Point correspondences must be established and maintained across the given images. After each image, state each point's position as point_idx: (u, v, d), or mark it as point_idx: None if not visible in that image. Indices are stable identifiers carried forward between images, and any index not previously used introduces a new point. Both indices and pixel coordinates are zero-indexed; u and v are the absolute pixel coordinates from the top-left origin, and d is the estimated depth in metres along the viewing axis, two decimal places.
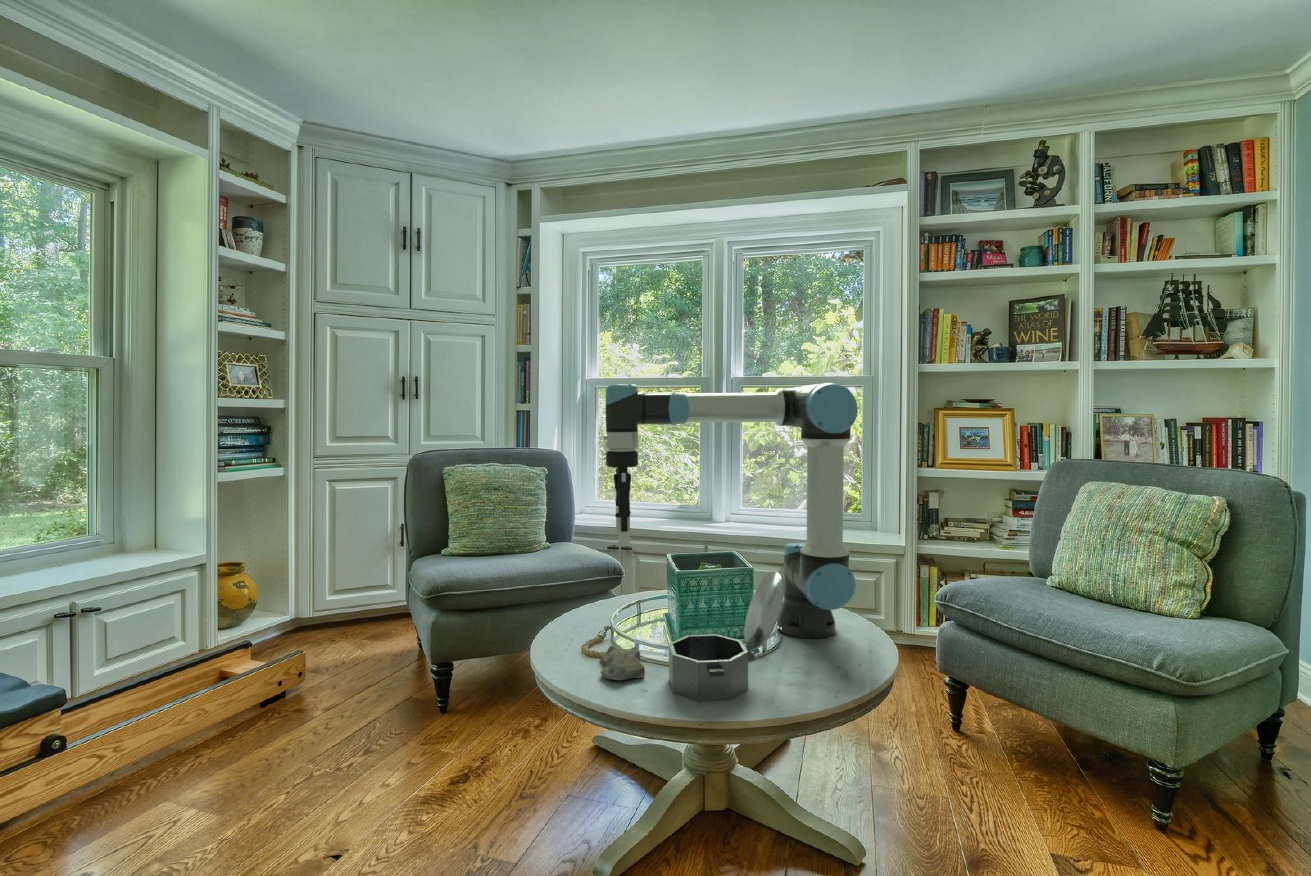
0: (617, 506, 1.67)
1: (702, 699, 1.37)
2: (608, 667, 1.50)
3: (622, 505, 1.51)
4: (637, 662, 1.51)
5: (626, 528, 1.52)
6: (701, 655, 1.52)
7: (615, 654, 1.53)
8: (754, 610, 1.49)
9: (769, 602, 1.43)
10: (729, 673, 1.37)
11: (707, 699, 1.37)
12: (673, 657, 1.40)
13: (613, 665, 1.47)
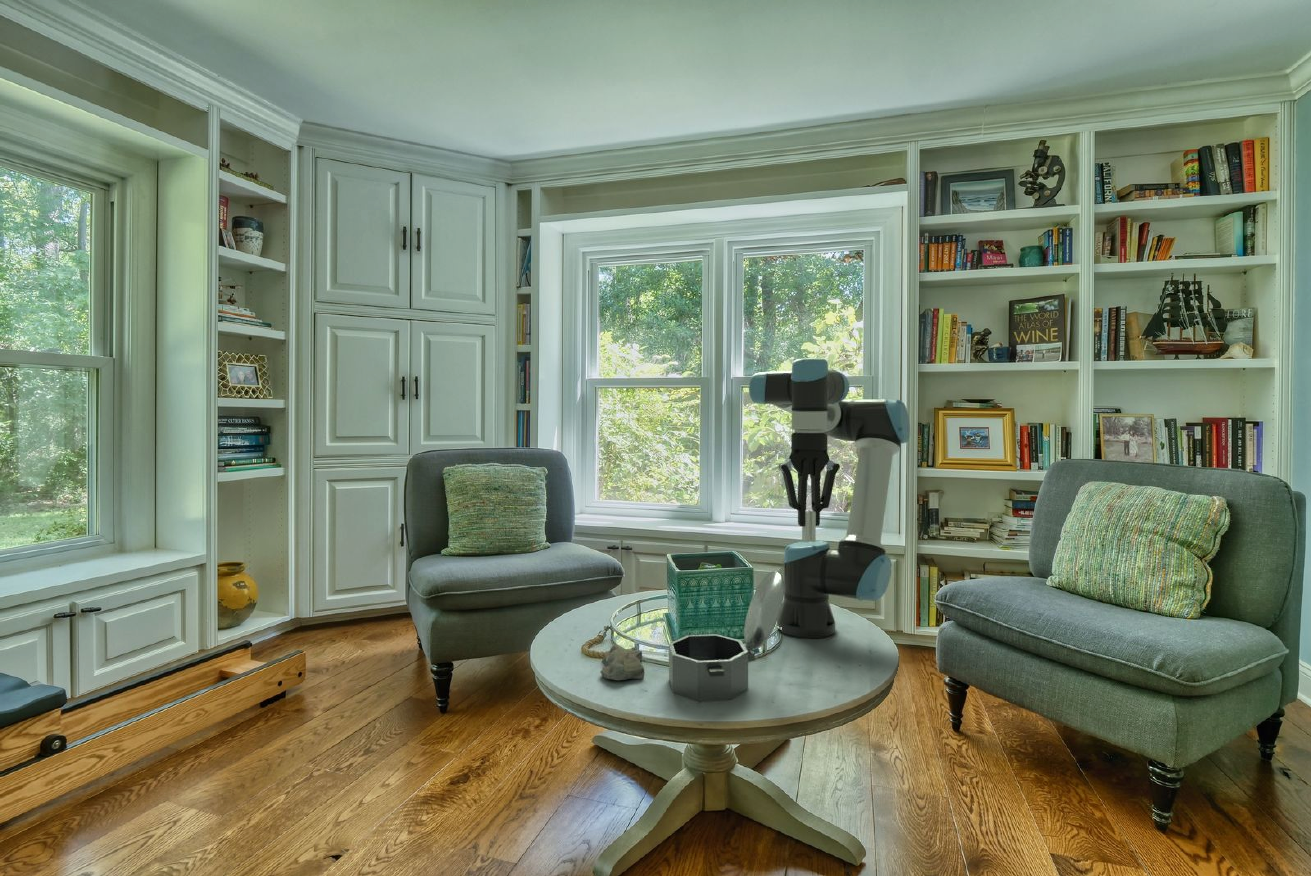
0: (812, 507, 1.46)
1: (702, 699, 1.37)
2: (608, 667, 1.50)
3: (788, 498, 1.45)
4: (637, 663, 1.51)
5: (799, 522, 1.45)
6: (701, 655, 1.52)
7: (616, 654, 1.53)
8: (754, 610, 1.49)
9: (769, 602, 1.43)
10: (729, 673, 1.37)
11: (707, 699, 1.37)
12: (673, 657, 1.40)
13: (612, 665, 1.47)
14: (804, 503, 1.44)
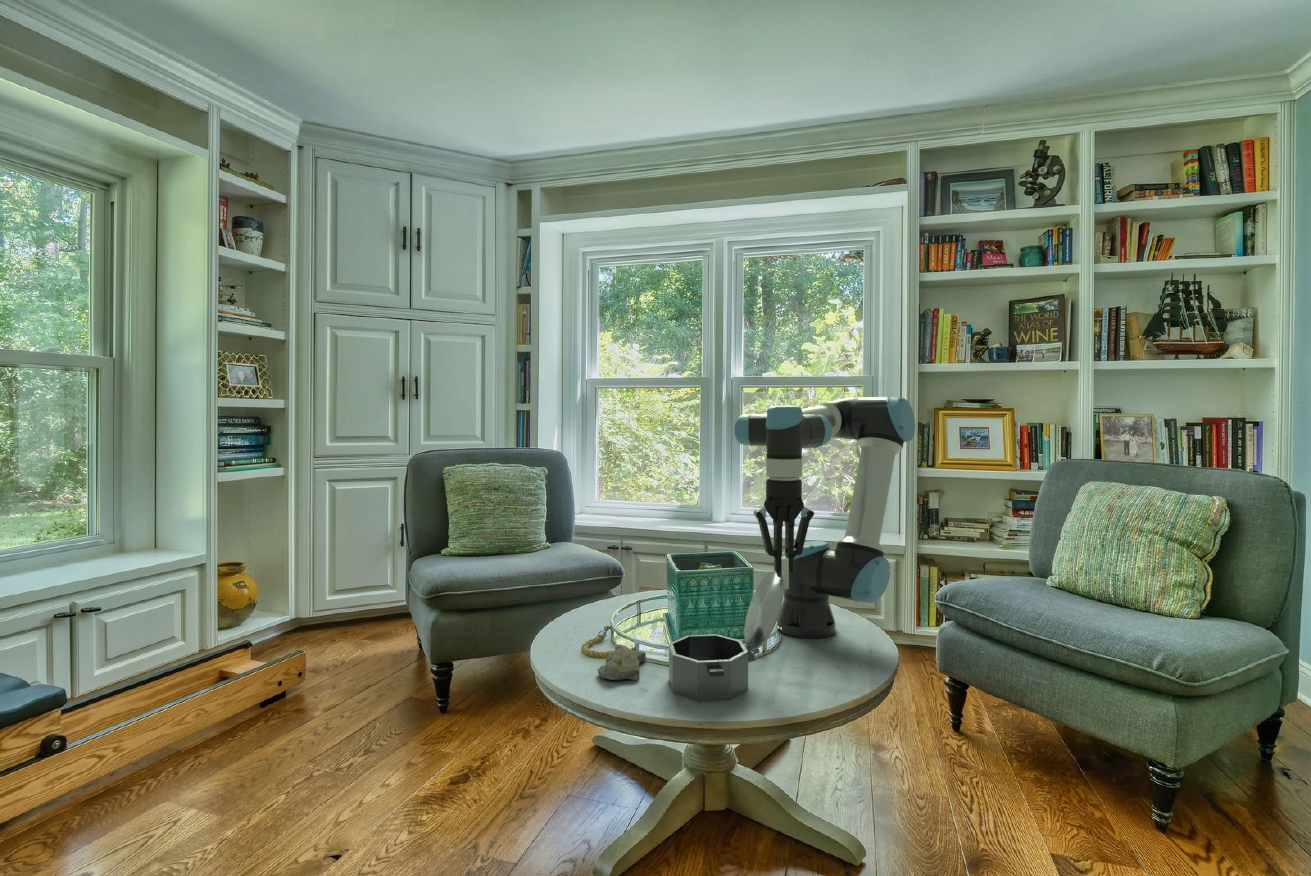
0: (785, 553, 1.46)
1: (702, 699, 1.37)
2: None
3: (764, 545, 1.45)
4: (635, 664, 1.51)
5: (775, 569, 1.45)
6: (701, 655, 1.52)
7: (616, 653, 1.53)
8: (754, 610, 1.49)
9: (769, 602, 1.43)
10: (729, 673, 1.37)
11: (707, 699, 1.37)
12: (673, 657, 1.40)
13: (607, 664, 1.48)
14: (780, 550, 1.44)
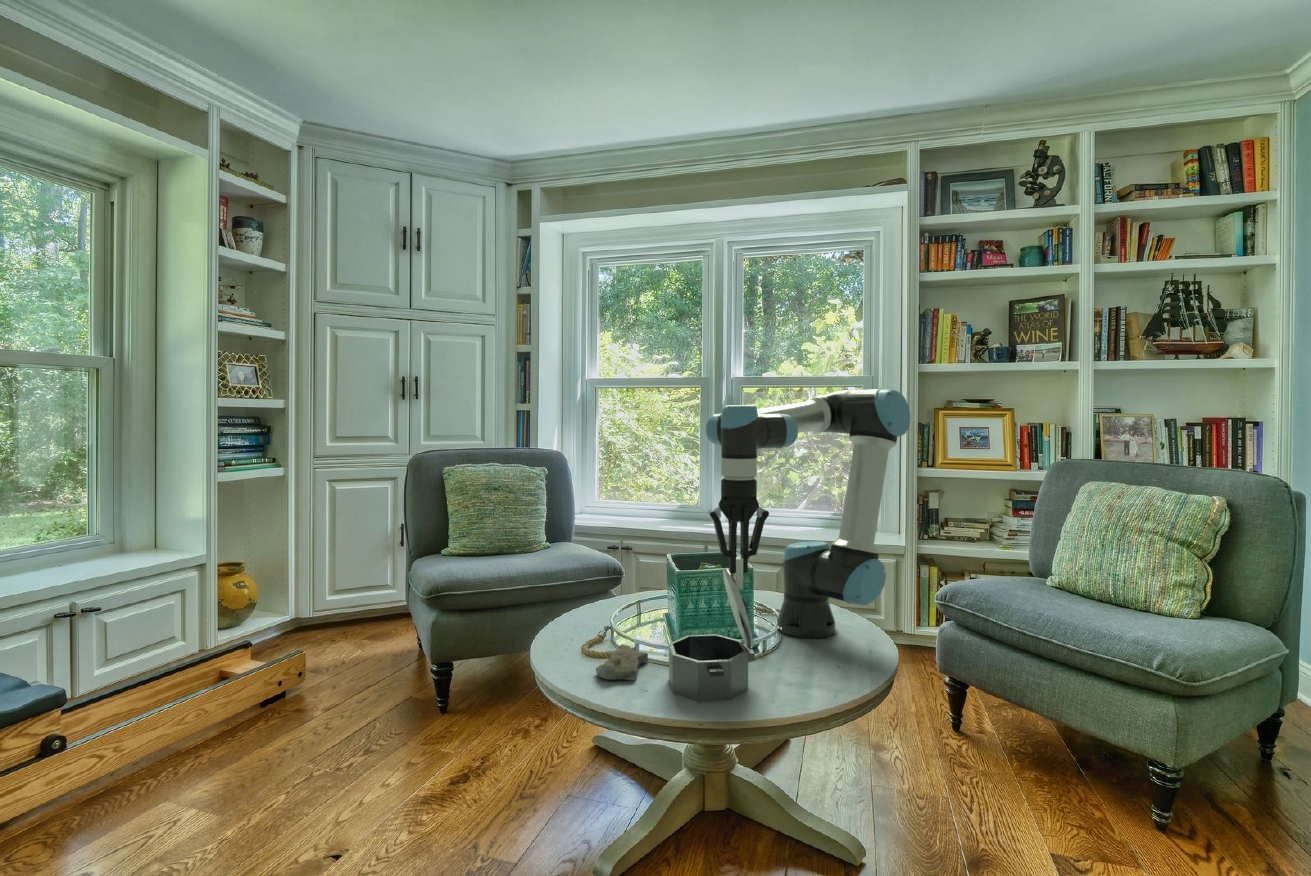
0: None
1: (702, 699, 1.37)
2: None
3: (719, 545, 1.44)
4: (633, 664, 1.50)
5: (730, 569, 1.44)
6: (701, 655, 1.52)
7: (616, 653, 1.53)
8: (734, 609, 1.49)
9: (735, 601, 1.42)
10: (729, 673, 1.37)
11: (707, 699, 1.37)
12: (673, 657, 1.40)
13: (604, 663, 1.48)
14: (734, 550, 1.43)
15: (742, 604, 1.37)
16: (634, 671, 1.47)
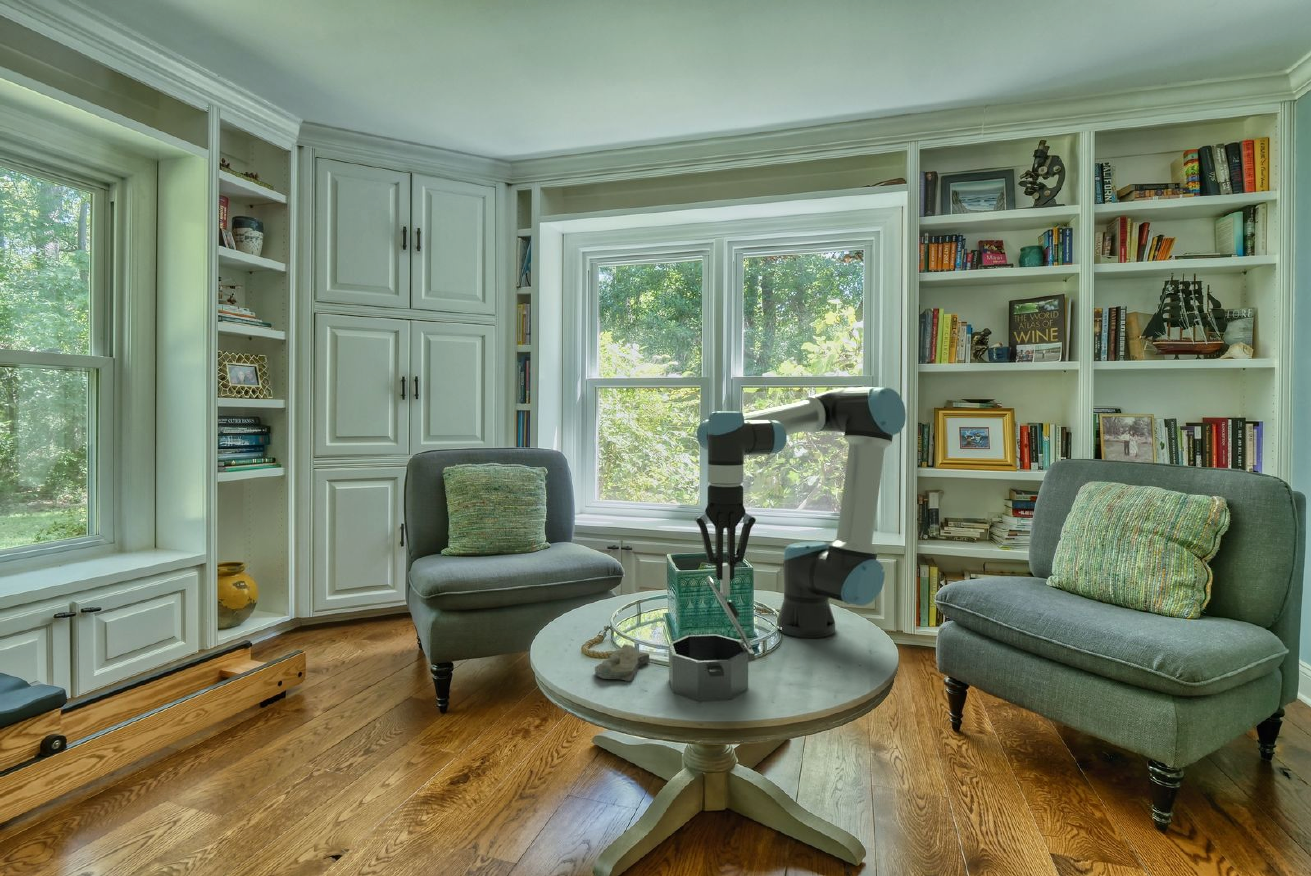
0: (727, 560, 1.45)
1: (702, 699, 1.37)
2: None
3: (706, 551, 1.44)
4: (632, 665, 1.50)
5: (716, 576, 1.43)
6: (701, 655, 1.52)
7: (616, 653, 1.53)
8: None
9: None
10: (729, 673, 1.37)
11: (707, 699, 1.37)
12: (673, 657, 1.40)
13: (602, 663, 1.49)
14: (721, 557, 1.43)
15: (728, 609, 1.36)
16: (631, 672, 1.47)
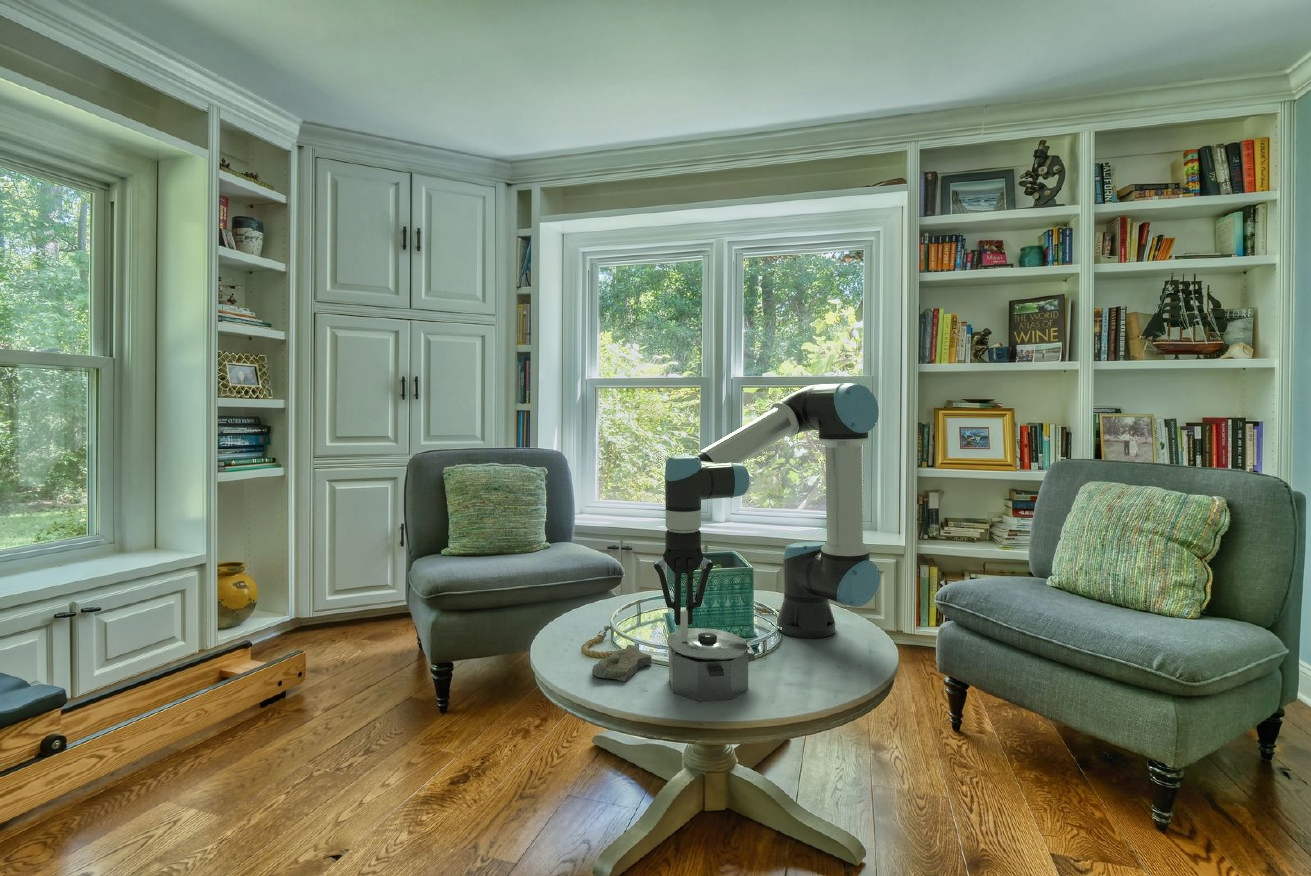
0: None
1: (702, 699, 1.37)
2: None
3: (664, 596, 1.43)
4: (629, 665, 1.50)
5: (674, 621, 1.43)
6: None
7: (616, 652, 1.54)
8: None
9: None
10: (729, 673, 1.37)
11: (707, 699, 1.37)
12: (673, 657, 1.40)
13: (599, 661, 1.49)
14: (678, 602, 1.42)
15: (698, 656, 1.36)
16: (625, 672, 1.46)
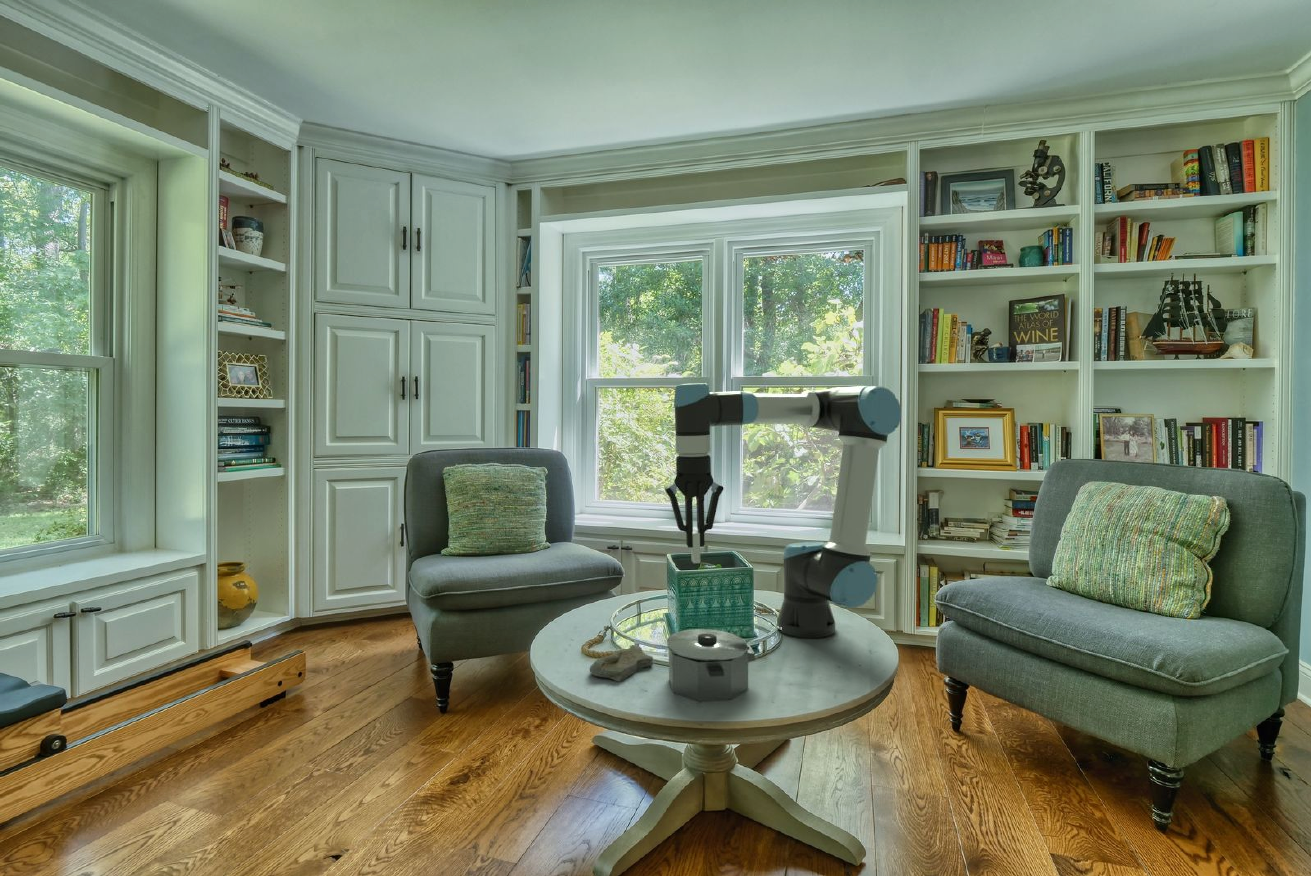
0: (697, 528, 1.49)
1: (702, 699, 1.37)
2: None
3: (676, 520, 1.48)
4: (626, 666, 1.49)
5: (687, 544, 1.48)
6: None
7: (617, 652, 1.54)
8: None
9: None
10: (729, 673, 1.37)
11: (707, 699, 1.37)
12: (673, 657, 1.40)
13: None
14: (690, 525, 1.47)
15: (698, 657, 1.36)
16: (619, 672, 1.46)
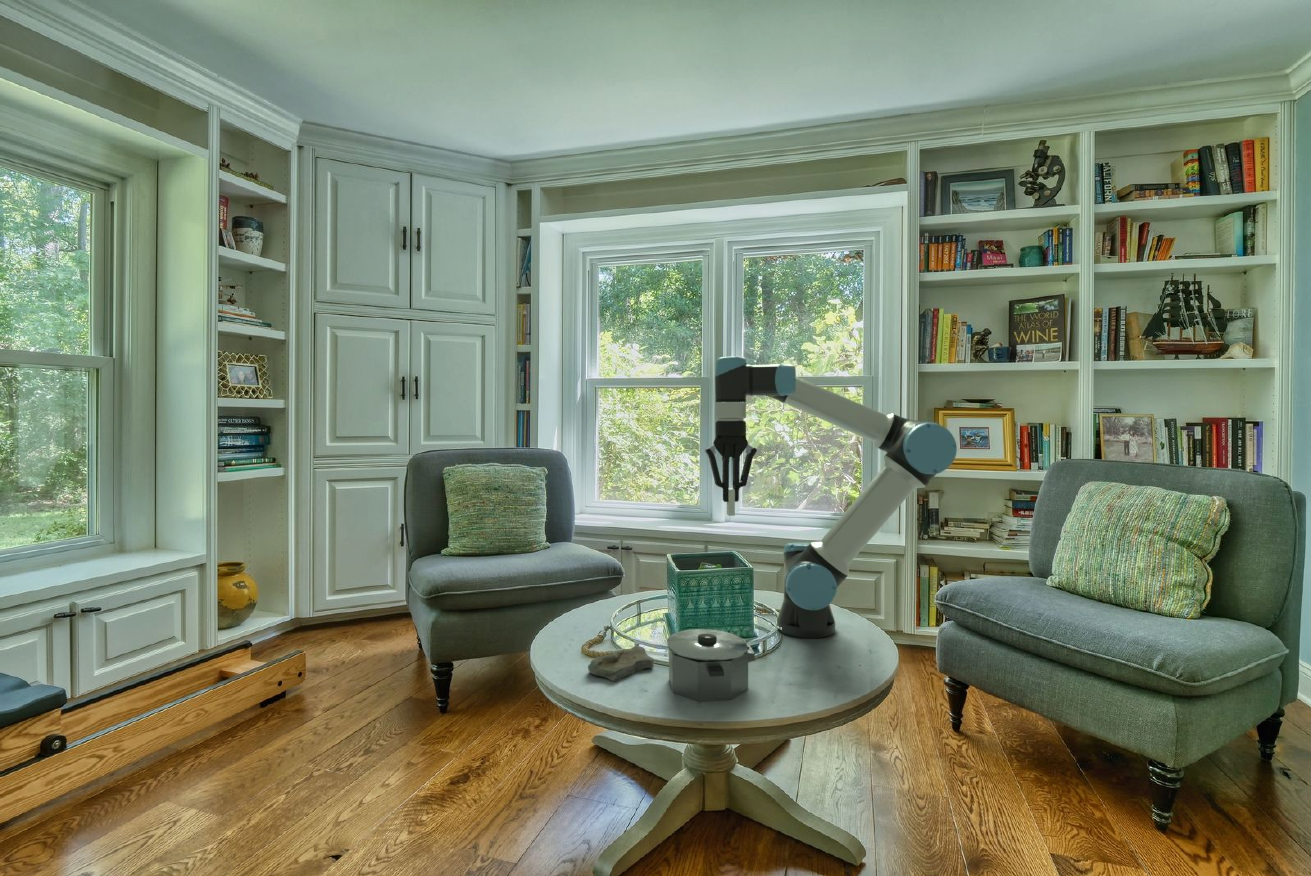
0: None
1: (702, 699, 1.37)
2: None
3: (714, 478, 1.68)
4: (623, 666, 1.49)
5: (723, 498, 1.67)
6: None
7: (617, 651, 1.54)
8: None
9: None
10: (729, 673, 1.37)
11: (707, 699, 1.37)
12: (673, 657, 1.40)
13: (595, 658, 1.51)
14: (727, 482, 1.66)
15: (698, 657, 1.36)
16: (614, 672, 1.47)
